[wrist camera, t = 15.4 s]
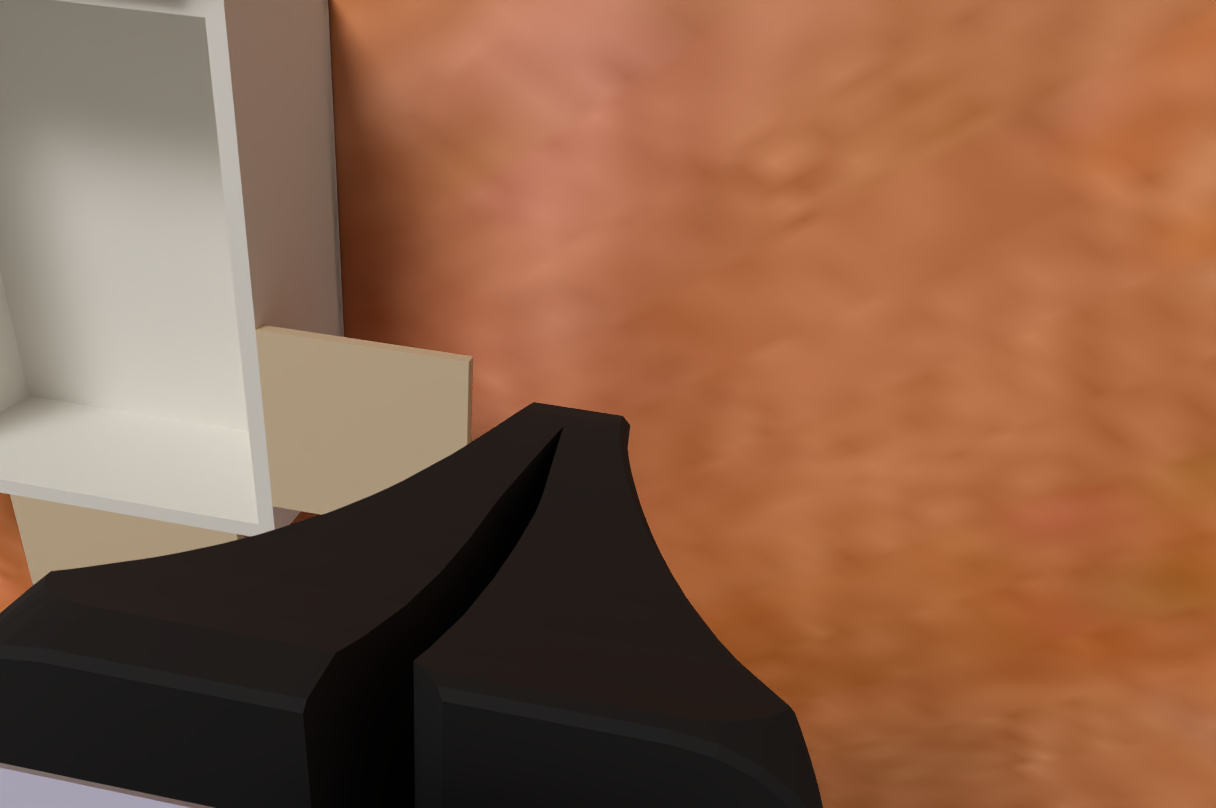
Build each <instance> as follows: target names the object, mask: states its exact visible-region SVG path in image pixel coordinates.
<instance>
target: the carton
mask: <svg viewBox="0 0 1216 808" xmlns="http://www.w3.org/2000/svg"><path fill="white" fill-rule="evenodd" d="M472 378H473V356H467V355H460V354H454V353H447V352H440V351H434V350H427V349H420V348H414V347H407V346H400V345H394V344H387V343H380V342H374V341H367V340H360V339H354V338H347V337H344V323H343V302H342V281H341V260H340V239H339V218H338V198H337V177H336V156H335V135H334V114H333V93H332V73H331V52H330V31H329V10H328V0H0V493H6V494H10V496H11V500H12V504H13V508H14V512H15V516H16V520H17V524H18V528H19V532H20V536H21V540H22V544H23V548H24V551H25V555H26V559H27V563H28V567H29V571H30V575H31V579H32V583H33V585H34V584H36V583H37V582H38V581H39V580H40V579H42V578H43V577H44V576H45V575H47V574H48V573H49V572H50V571H56V570H66V569H75V568H82V567H89V566H96V565H103V564H110V563H117V562H124V561H132V560H139V559H146V558H153V557H158V556H164V555H169V554H175V553H180V552H185V551H190V550H194V549H199V548H204V547H209V546H214V545H218V544H222V543H226V542H230V541H235V540H239V539H243V538H244V535H245V536H255V535H258V534H262V533H265V532H268V531H272V530H275V529H278V528H281V527H284V526H288V525H290V524H291V523H292V521H293V520H294V519H295V518H296V517H297V516H298V514H299V513H300V512H301V511H303V512H309V513H315V514H320V515H322V514H326V513H328V512H331V511H334V510H336V509H339V508H342V507H344V506H347V505H349V504H351V503H354V502H356V501H359V500H361V499H364V498H366V497H369V496H371V495H373V494H376V493H378V492H380V491H382V490H384V489H387V488H389V487H391V486H393V485H395V484H397V483H399V482H401V481H403V480H405V479H407V478H409V477H411V476H412V475H414V474H416V473H418V472H420V471H422V470H424V469H425V468H427V467H429V466H431V465H433V464H435V463H436V462H438V461H440V460H442V459H444V458H446V457H448V456H449V455H451V454H453V453H455V452H456V451H458V450H460V449H461V448H463V447H464V446H466V445H468V444H469V443H471V421H472Z"/></svg>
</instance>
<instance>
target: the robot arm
mask: <svg viewBox="0 0 1216 808" xmlns="http://www.w3.org/2000/svg"><path fill="white" fill-rule="evenodd" d="M629 430H630V425H629V423H628V422H627V421H626V419H625V418H624V417H623V416H619V415H613V414H606V413H600V412H593V411H587V410H580V409H574V408H567V407H561V406H554V405H548V404H541V403H535V402H534V403H532V404H530V405H528V406H527V407H525V408H523V409H522V410H520V411H519V412H517V413H516V414H514V415H513V416H511V417H510V418H508V419H507V420H505V421H504V422H502V423H501V424H499V425H498V426H496V427H494V428H493V429H491V430H490V431H488V432H487V433H485V434H484V435H482V436H480V437H479V438H477V439H476V440H474V441H472V442H471V443H469V444H468V445H466V446H464V447H463V448H461V449H460V450H458V451H456V452H455V453H453V454H451V455H449V456H448V457H446V458H444V459H442V460H440V461H438V462H436V463H435V464H433V465H431V466H429V467H427V468H425V469H424V470H422V471H420V472H418V473H416V474H414V475H412V476H411V477H409V478H407V479H405V480H403V481H401V482H399V483H397V484H395V485H393V486H391V487H389V488H387V489H384V490H382V491H380V492H378V493H376V494H373V495H371V496H369V497H366V498H364V499H361V500H359V501H356V502H354V503H351V504H349V505H347V506H344V507H342V508H339V509H336V510H334V511H331V512H328V513H326V514H322V515H319V516H316V517H313V518H310V519H307V520H303V521H300V522H297V523H294V524H291V525H288V526H284V527H281V528H278V529H275V530H272V531H268V532H265V533H262V534H258V535H255V536H251V537H247V538H243V539H239V540H235V541H230V542H226V543H222V544H218V545H214V546H209V547H204V548H199V549H194V550H190V551H185V552H180V553H175V554H169V555H164V556H158V557H153V558H146V559H139V560H132V561H124V562H117V563H110V564H103V565H96V566H89V567H82V568H75V569H66V570H56V571H50V572H49V573H48V574H47V575H45V576H44V577H43V578H42V579H40V580H39V581H38V582H37V583H36V584H34V585H33V586H32V587H31V588H30V589H28V590H27V591H26V592H25V593H24V594H23V595H21V596H20V597H19V598H18V599H17V600H15V601H14V602H13V603H12V604H11V605H9V606H8V607H7V608H6V609H5V610H4V611H2V612H1V613H0V808H823V806H822V801H821V797H820V792H819V788H818V784H817V780H816V777H815V773H814V770H813V766H812V763H811V759H810V756H809V753H808V750H807V747H806V744H805V741H804V738H803V734H802V731H801V728H800V726H799V723H798V720H797V717H796V715H795V713H794V711H793V710H792V709H791V707H790V706H789V705H787V704H786V703H785V702H784V701H783V700H782V699H781V698H779V697H778V696H777V695H776V694H775V693H774V692H773V691H772V690H770V689H769V688H768V687H767V686H766V685H765V684H764V683H762V682H761V681H760V680H759V679H758V678H757V677H756V676H754V675H753V674H752V673H751V672H750V671H749V670H748V669H746V668H745V667H744V666H743V665H742V664H741V663H740V662H739V661H738V660H737V659H736V658H735V657H734V656H733V655H732V654H731V653H730V652H729V651H728V650H727V649H726V647H725V646H724V645H723V644H722V643H721V642H720V641H719V640H718V639H717V638H716V636H715V635H714V634H713V632H712V631H711V630H710V628H709V627H708V626H707V624H706V623H705V622H704V621H703V619H702V618H701V617H700V615H699V614H698V613H697V611H696V610H695V609H694V607H693V606H692V605H691V603H690V602H689V601H688V599H687V598H686V596H685V595H684V593H683V591H682V590H681V588H680V586H679V585H678V583H677V582H676V580H675V578H674V577H673V575H672V573H671V572H670V570H669V568H668V566H667V564H666V562H665V560H664V559H663V557H662V555H661V553H660V551H659V549H658V547H657V545H656V542H655V540H654V538H653V536H652V533H651V531H650V528H649V526H648V523H647V521H646V518H645V516H644V513H643V510H642V507H641V505H640V502H639V499H638V495H637V491H636V488H635V484H634V481H633V477H632V473H631V468H630V463H629V457H628V449H627V448H628V439H629Z"/></svg>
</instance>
